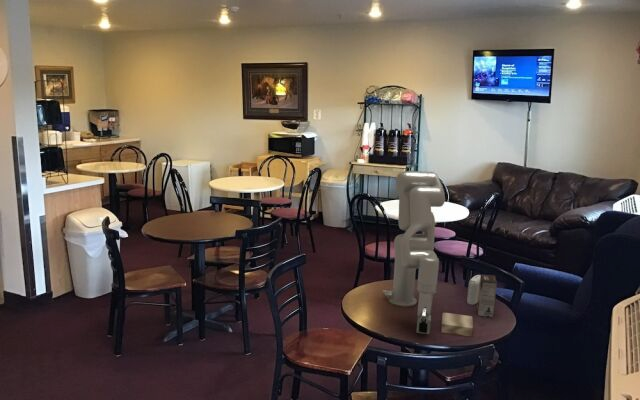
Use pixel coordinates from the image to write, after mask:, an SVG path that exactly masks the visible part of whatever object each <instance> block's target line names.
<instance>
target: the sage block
mask: <svg viewBox="0 0 640 400" xmlns="http://www.w3.org/2000/svg"><path fill="white" fill-rule="evenodd" d="M420 317H421V315H420V316H417V322H416V332H415V333H416V334H417V333H419V334H425V335H430V330H431V323H432V322H431V321H432V319H431V318H432V315H431V314H430V316H429V317H428V319H427V323H428V326H427V333H422V332H419V322H420ZM425 319H426V318H425Z"/></svg>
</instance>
